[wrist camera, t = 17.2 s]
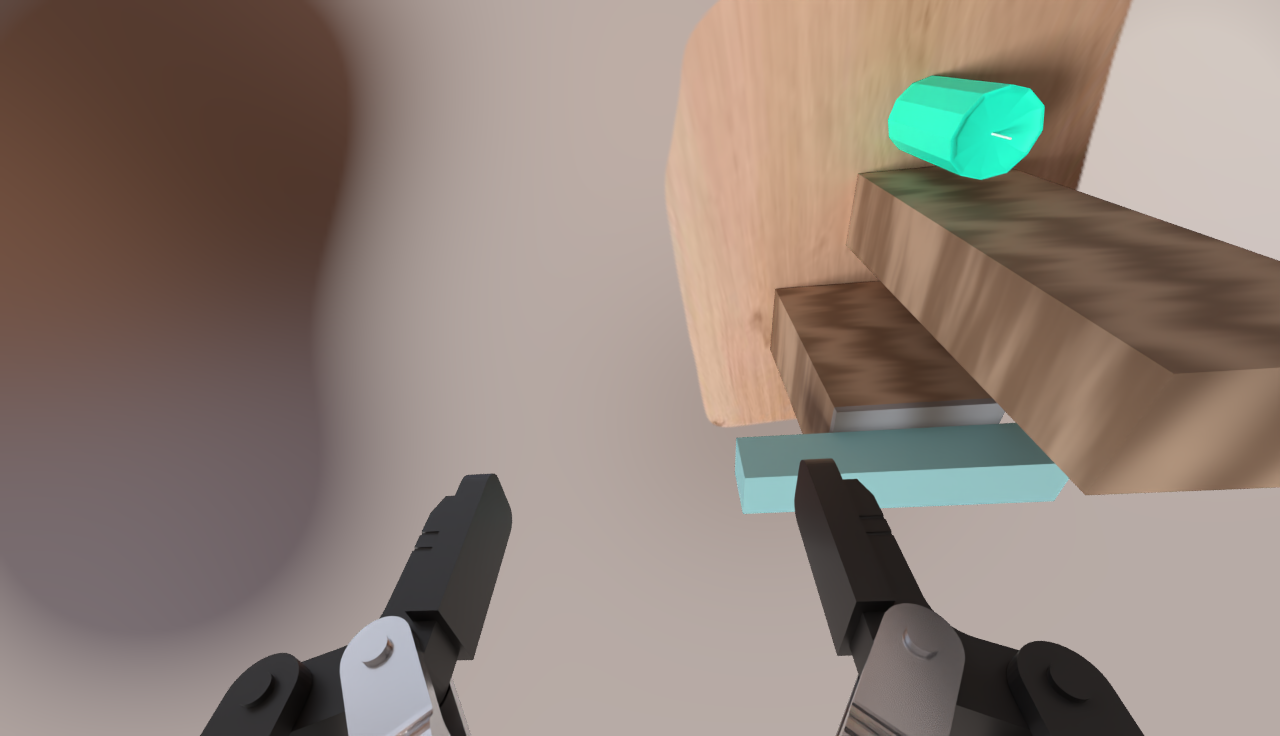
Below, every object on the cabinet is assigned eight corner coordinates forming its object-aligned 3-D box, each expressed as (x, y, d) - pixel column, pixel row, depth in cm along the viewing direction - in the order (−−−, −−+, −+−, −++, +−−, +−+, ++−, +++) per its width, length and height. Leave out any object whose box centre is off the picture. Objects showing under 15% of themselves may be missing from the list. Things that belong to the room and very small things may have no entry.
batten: (735, 472, 37) (742, 513, 34) (736, 437, 35) (744, 478, 32) (1017, 459, 36) (1053, 501, 32) (1038, 421, 33) (1079, 462, 30)
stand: (846, 245, 47) (1085, 495, 21) (858, 173, 43) (1173, 373, 17) (967, 235, 46) (1375, 483, 20) (991, 161, 42) (1541, 352, 16)
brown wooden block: (770, 349, 55) (822, 484, 38) (775, 289, 50) (836, 412, 33) (873, 342, 54) (972, 477, 37) (887, 280, 49) (1009, 402, 32)
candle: (968, 124, 40) (1068, 149, 31) (899, 166, 42) (973, 202, 33) (949, 58, 38) (1054, 63, 28) (877, 106, 40) (951, 127, 30)
